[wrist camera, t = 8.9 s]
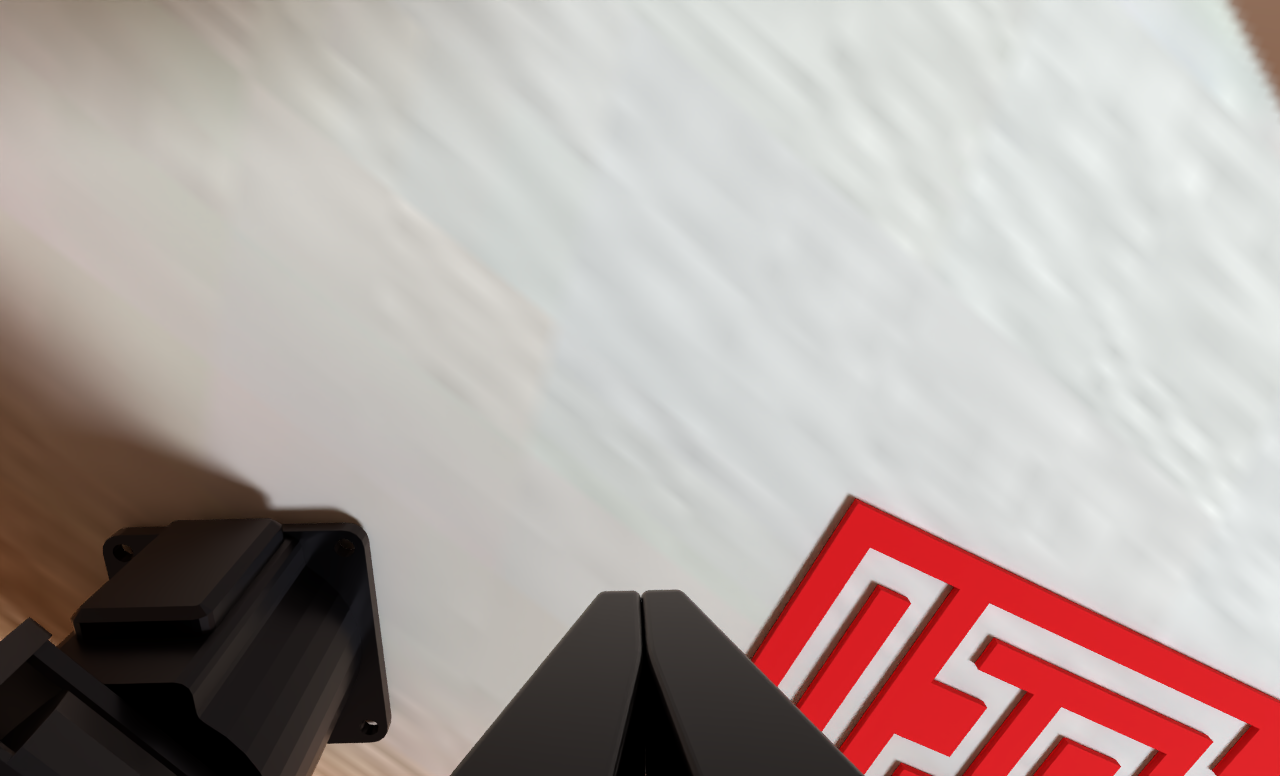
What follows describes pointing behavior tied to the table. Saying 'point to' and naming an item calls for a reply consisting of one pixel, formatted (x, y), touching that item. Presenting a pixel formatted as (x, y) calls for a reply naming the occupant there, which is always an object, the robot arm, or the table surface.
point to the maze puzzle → (996, 666)
